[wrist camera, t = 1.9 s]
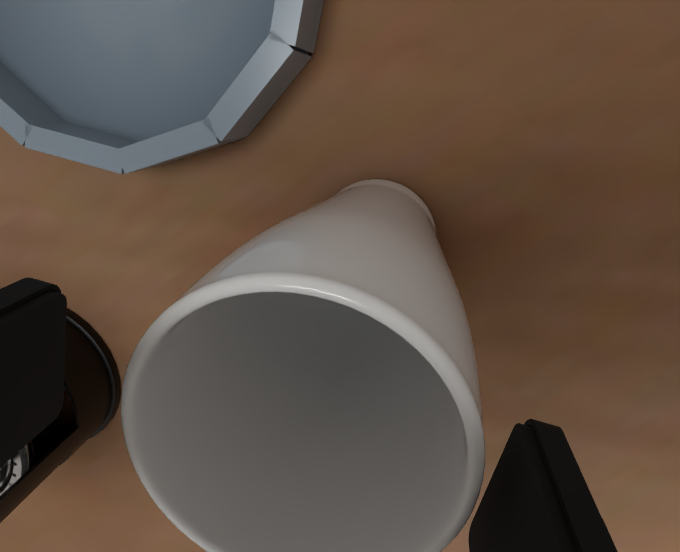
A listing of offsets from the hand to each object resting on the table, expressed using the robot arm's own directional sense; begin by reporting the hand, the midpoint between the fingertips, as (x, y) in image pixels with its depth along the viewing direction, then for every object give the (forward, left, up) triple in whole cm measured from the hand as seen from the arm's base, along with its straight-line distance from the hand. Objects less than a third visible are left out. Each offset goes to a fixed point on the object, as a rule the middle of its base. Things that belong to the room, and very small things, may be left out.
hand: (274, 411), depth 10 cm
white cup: (-1, 0, -14) cm, 14 cm away
